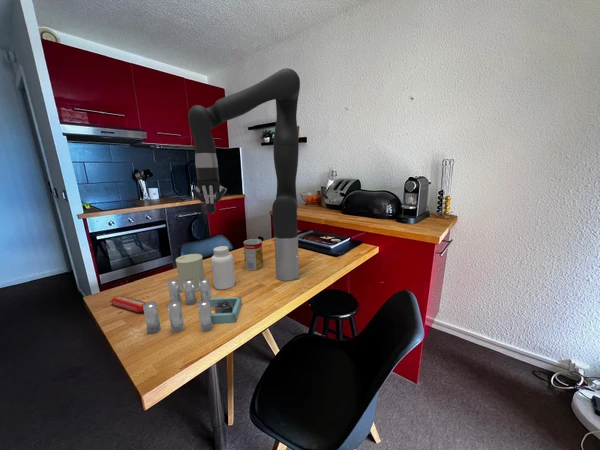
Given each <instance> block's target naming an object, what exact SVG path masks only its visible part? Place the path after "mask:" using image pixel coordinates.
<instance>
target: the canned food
mask: <svg viewBox="0 0 600 450" xmlns="http://www.w3.org/2000/svg"><path fill="white" fill-rule="evenodd" d="M243 250H244V251H243V252H244V266H245V267H244V268H245V269H246V270H248V271H259V270H261V269H263V267H264V261H263V259H264V257H263V256H264V255H263V242H262V239H258V238H250V239H246V240H244V241H243Z"/></svg>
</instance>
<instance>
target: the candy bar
mask: <svg viewBox="0 0 600 450" xmlns="http://www.w3.org/2000/svg"><path fill="white" fill-rule="evenodd" d="M110 303H111V304H112V305H113V306H116V307H120V308H122V309H126V310H129V311H131V312H136V313H144V309H143V305H144V304H146V303H147V302H145V301H142V300H139V299H135V298H132V297H127V296H125V295H121V296H120V295H119V296H115V297H112V298H111V301H110Z"/></svg>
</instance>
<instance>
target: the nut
mask: <svg viewBox="0 0 600 450" xmlns="http://www.w3.org/2000/svg"><path fill="white" fill-rule="evenodd" d="M233 309H234V305H233V301H229V300H223V301H221V302H218V303H216V306H215V307H214V310H215V311H214V312H215V313H214V314H219V313H232V311H233Z"/></svg>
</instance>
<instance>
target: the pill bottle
mask: <svg viewBox="0 0 600 450" xmlns="http://www.w3.org/2000/svg"><path fill="white" fill-rule="evenodd" d="M210 263H211V271H212V272H211V273H212V280H213V281H212V283H213V288H215V290H228V289H231V288H232V287H234V286H235V284H236V275H235V261H234V256H233V254H232V253H230V249H229V246H227V245H221V246H217V247H214V248H213V255H212V256H211V259H210Z"/></svg>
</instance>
